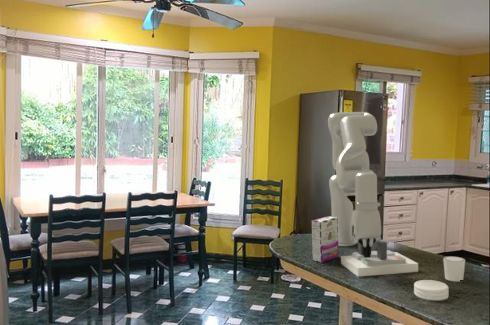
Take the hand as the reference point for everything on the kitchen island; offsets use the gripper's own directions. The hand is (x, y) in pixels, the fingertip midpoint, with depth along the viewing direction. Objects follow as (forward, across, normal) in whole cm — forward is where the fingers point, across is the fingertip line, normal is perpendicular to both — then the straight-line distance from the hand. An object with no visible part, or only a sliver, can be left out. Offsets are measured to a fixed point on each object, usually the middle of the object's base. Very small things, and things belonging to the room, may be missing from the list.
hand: (366, 256), depth 168 cm
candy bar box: (+6, +9, -20) cm, 23 cm away
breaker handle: (+1, -6, 0) cm, 6 cm away
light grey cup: (+6, -26, +14) cm, 30 cm away
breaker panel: (+6, -6, -4) cm, 10 cm away
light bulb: (+6, -11, -20) cm, 24 cm away
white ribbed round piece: (+6, -10, +26) cm, 28 cm away
